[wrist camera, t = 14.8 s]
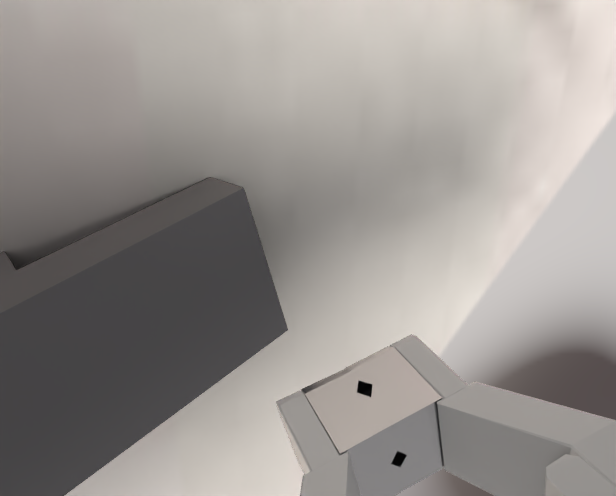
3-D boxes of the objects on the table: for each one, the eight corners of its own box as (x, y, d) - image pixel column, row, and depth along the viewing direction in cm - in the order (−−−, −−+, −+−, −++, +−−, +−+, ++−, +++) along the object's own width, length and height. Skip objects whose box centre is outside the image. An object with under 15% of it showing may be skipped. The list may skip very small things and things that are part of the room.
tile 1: (255, 309, 16) (-25, 501, 12) (209, 177, 14) (-168, 358, 9) (288, 329, 15) (-14, 553, 11) (243, 187, 12) (-176, 404, 8)
